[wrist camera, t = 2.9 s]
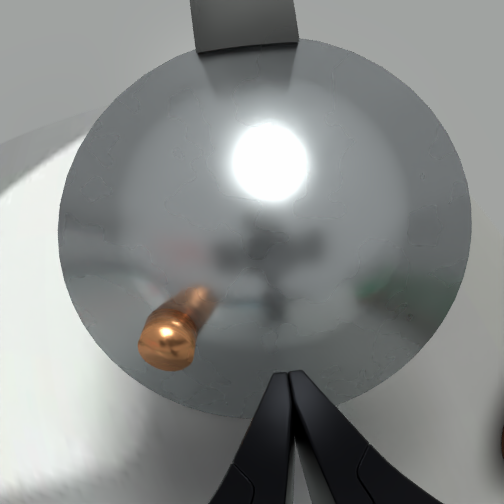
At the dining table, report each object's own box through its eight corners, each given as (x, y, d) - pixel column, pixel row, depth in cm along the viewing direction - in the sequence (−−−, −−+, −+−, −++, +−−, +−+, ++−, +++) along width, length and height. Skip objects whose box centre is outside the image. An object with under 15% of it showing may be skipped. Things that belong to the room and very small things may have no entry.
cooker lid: (423, 373, 15) (438, 402, 13) (141, 408, 15) (132, 440, 13) (436, -49, 6) (466, -66, 4) (26, -3, 6) (-8, -14, 4)
